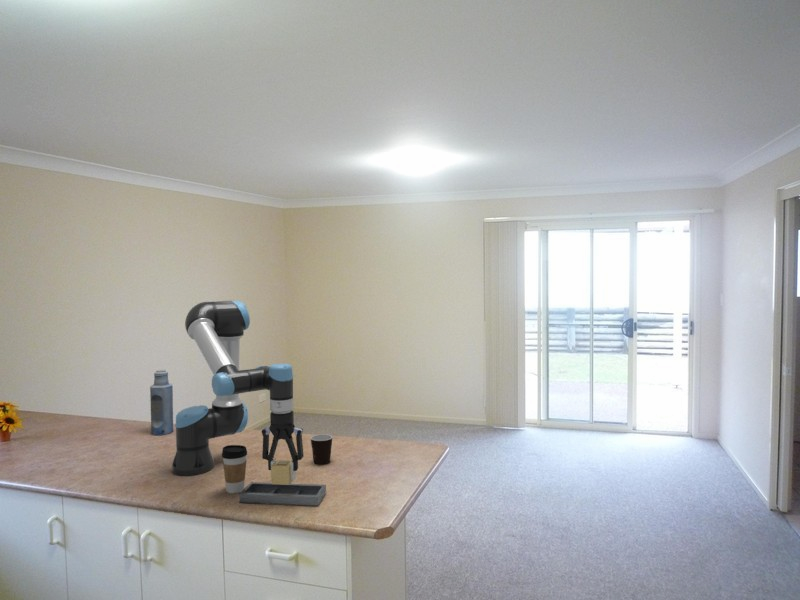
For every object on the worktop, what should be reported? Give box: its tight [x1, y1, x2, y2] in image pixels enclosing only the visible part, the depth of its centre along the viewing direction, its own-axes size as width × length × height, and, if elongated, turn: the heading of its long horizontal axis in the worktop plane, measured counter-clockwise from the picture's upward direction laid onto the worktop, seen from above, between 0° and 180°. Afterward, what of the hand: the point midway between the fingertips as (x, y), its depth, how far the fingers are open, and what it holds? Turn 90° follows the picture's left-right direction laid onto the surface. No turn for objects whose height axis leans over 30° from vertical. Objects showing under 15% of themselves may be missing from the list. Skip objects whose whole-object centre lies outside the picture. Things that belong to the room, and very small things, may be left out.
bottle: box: [149, 369, 174, 436], centre depth 251 cm, size 10×10×30 cm
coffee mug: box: [310, 433, 333, 466], centre depth 211 cm, size 12×9×10 cm
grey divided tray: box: [238, 481, 327, 507], centre depth 176 cm, size 26×10×3 cm, turn 83°
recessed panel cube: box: [270, 459, 292, 485], centre depth 175 cm, size 6×6×6 cm
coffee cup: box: [221, 444, 248, 494], centre depth 183 cm, size 8×8×15 cm
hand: (283, 479), depth 175 cm, fingers closed on recessed panel cube, 6 cm apart
